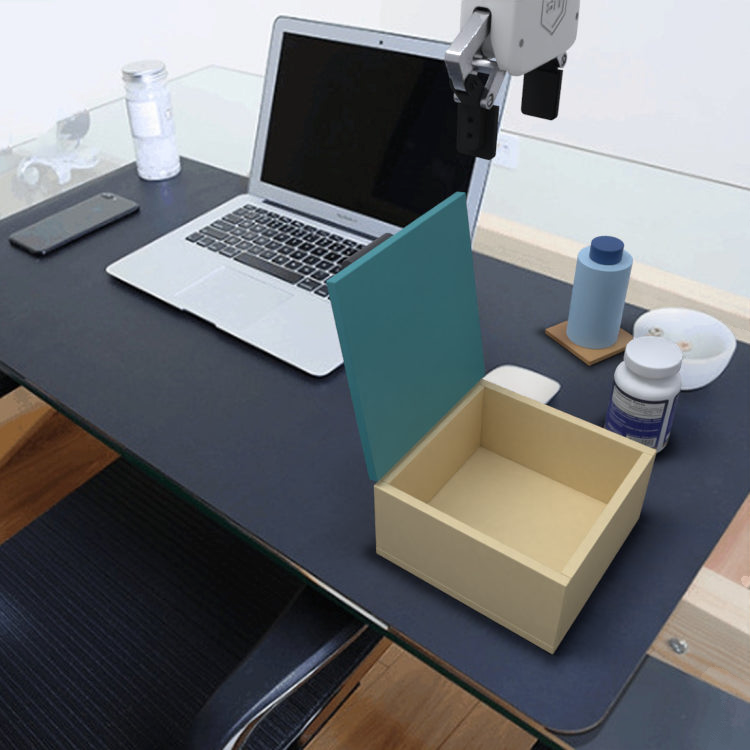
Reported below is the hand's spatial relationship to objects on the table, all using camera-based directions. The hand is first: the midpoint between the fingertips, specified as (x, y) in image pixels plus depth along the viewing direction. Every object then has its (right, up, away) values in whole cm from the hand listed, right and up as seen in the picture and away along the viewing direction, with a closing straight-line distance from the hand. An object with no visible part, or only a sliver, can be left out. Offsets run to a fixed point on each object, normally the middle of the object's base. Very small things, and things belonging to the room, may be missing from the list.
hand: (508, 134), depth 63 cm
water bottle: (+13, -15, +22) cm, 30 cm away
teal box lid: (-7, -16, -4) cm, 18 cm away
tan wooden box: (0, -32, +2) cm, 32 cm away
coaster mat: (+13, -15, +23) cm, 30 cm away
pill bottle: (+13, -25, +10) cm, 30 cm away
